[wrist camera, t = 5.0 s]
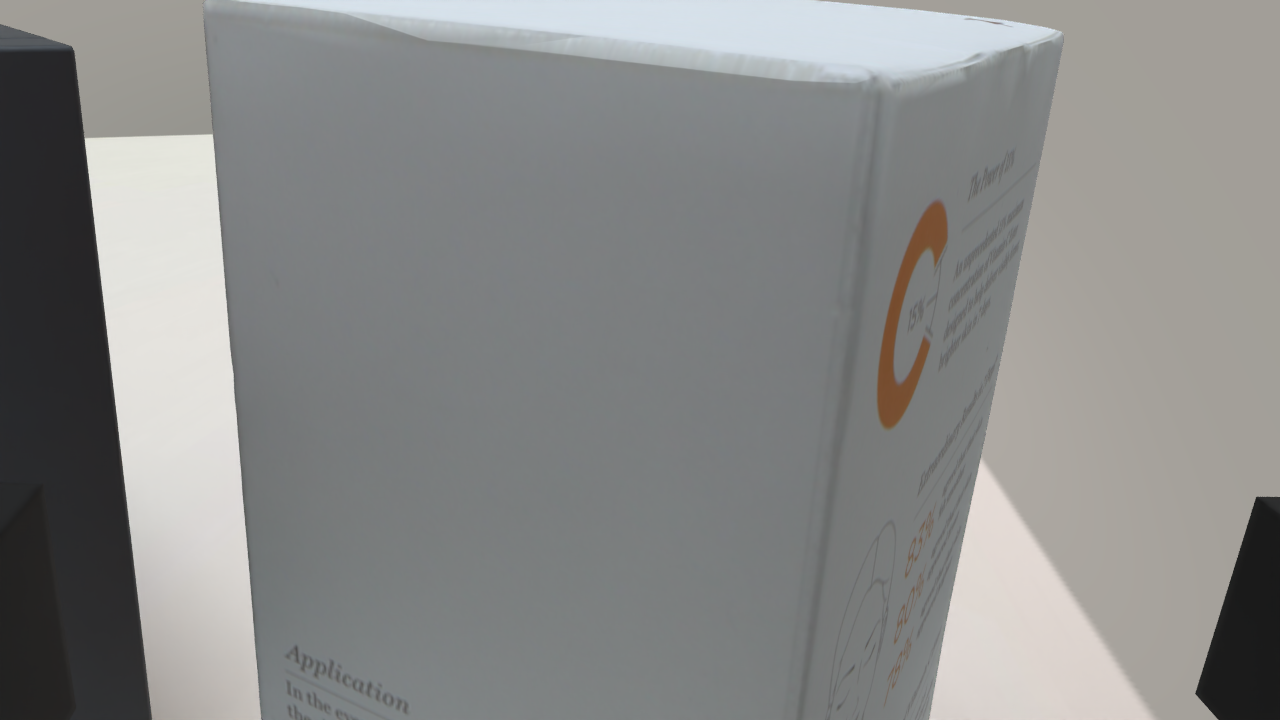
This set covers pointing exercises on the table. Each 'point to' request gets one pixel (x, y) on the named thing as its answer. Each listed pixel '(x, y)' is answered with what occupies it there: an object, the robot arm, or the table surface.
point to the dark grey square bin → (64, 373)
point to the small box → (614, 346)
